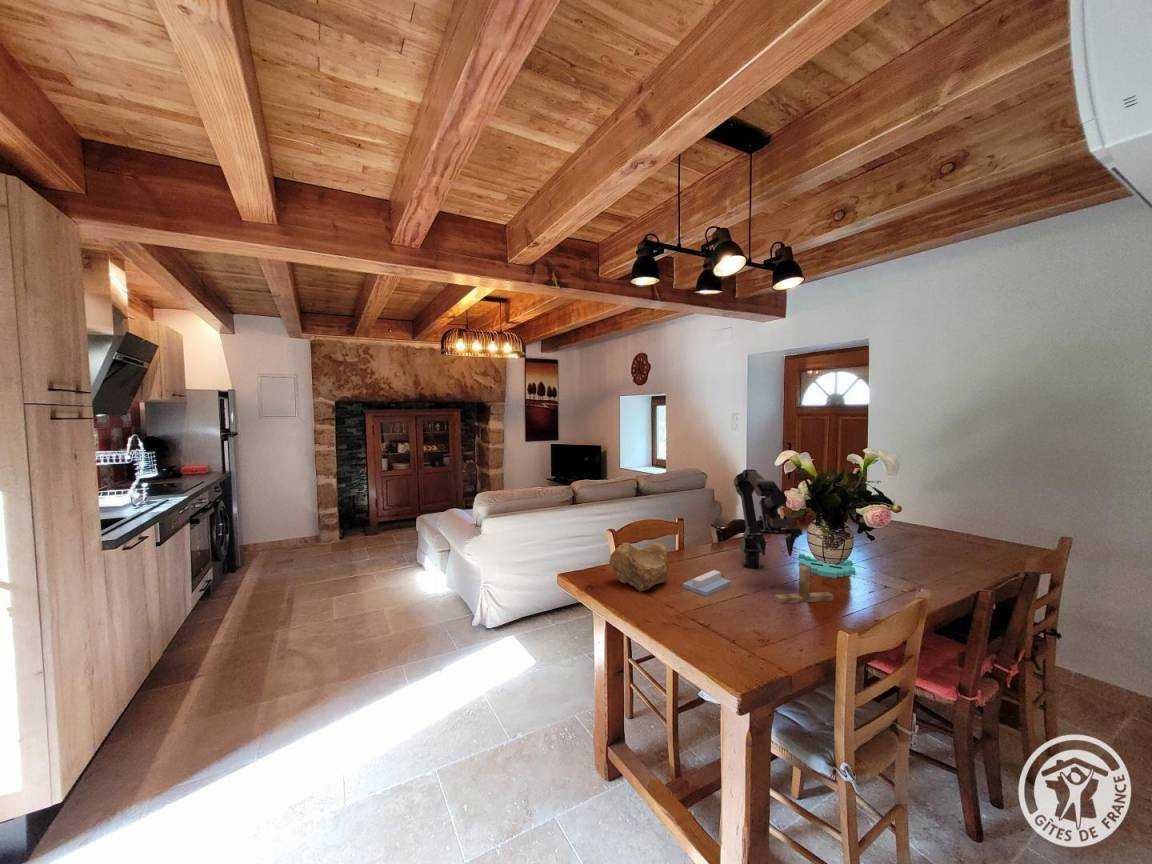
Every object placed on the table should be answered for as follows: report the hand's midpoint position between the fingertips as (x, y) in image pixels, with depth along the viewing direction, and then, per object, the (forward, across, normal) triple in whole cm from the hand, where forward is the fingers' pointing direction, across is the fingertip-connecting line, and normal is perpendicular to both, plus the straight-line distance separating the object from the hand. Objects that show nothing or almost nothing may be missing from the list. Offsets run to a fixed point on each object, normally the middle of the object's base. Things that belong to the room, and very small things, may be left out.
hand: (777, 555), depth 154 cm
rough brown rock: (+10, -48, +9) cm, 50 cm away
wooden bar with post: (+15, +6, 0) cm, 16 cm away
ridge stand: (+10, -24, +9) cm, 27 cm away
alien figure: (0, +30, +28) cm, 41 cm away
